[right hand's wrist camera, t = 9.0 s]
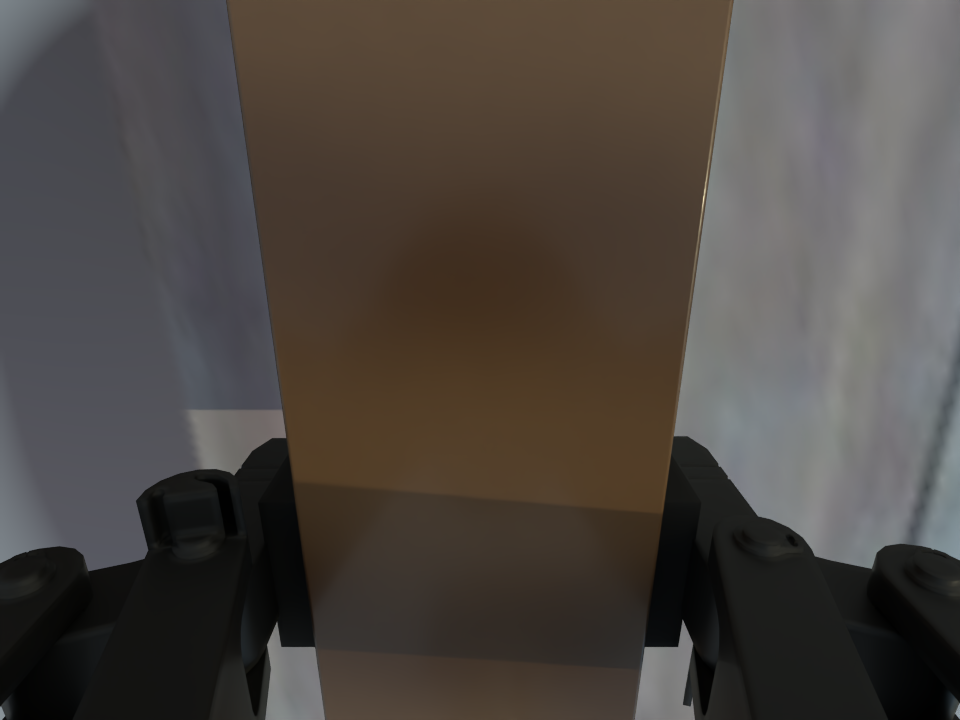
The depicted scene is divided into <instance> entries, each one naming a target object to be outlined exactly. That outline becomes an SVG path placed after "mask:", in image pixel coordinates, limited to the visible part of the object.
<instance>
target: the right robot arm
mask: <svg viewBox="0 0 960 720" xmlns="http://www.w3.org/2000/svg"><path fill="white" fill-rule="evenodd" d="M136 503H137V507H138V511H139V514H140V519H141V523H142V527H143V530H144V534H145V538H146V542H147V546H148V552H147V555H146V557H145V559H143V560H139V561H136V562H131V563H127V564H122V565H117V566H113V567H107V568H103V569H98V570H93V571H88V569H87V566H86V563H85V559H84V556H83V555H82V554H81V553H80V552H78V551H77V550H76V549H74V548H67V547H60V546H59V547H50V548H42V549H36V550H32V551H29V552H27V553H26V552H25V553H22V554H19V555H16V556H14V557H12V558H11V559H8V560H6V561H4V562H2V563H0V706H1V707H2V709H3V711H4V714H5V717H4V718H3V720H265V716H266V707H267V698H268V689H269V680H270V671H271V667H270V660H269V654H268V648H267V643H268V641H269V639H270V636H271V634H272V632H273V629H274V627H275V625H276V622H278V629H279V635H280V641H281V647H315V642H314V635H313V627H312V620H311V613H310V605H309V598H308V591H307V584H306V576H305V569H304V562H303V555H302V547H301V540H300V533H299V526H298V518H297V511H296V504H295V497H294V489H293V482H292V475H291V468H290V460H289V453H288V446H287V439H286V438H272V439H270V440H269V441H267V442H266V443H264V444H263V445H261V446H259V447H258V448H256V449H255V450H253V451H252V452H251V454H250V455H249V456H248V458H247V459H246V460H245V462H244V463H243V464H242V468H241V469H239V470H238V471H237V473H236V474H235V475H232V474H231V473H230V472H226V471H222V470H217V469H205V470H194V471H190V472H185V473H180V474H177V475H174V476H172V477H169V478H167V479H164V480H161V481H160V482H158V483H156V484H155V485H153V486H151V487H150V488H148V489H147V490H145V491H144V492H143V494H142V495H141V496H140V497H139V498H138V499H137V500H136ZM682 620H683V621H684V623H685V625H686V628H687V630H688V632H689V635H690V637H691V639H692V642H693V648H692V654H691V660H690V665H689V671H688V677H687V682H686V688H685V694H684V701H683V705H687V706H691V701H692V697H693V706H694V715H695V720H960V719H959V718H958V717H957V716H956V714H955V712H956V710H957V708H958V705H959V703H960V560H958V559H955V558H953V557H951V556H949V555H948V554H946V553H944V552H941V551H938V550H935V549H934V550H932V549H931V548H927V547H923V546H915V545H907V544H896V545H889V546H885V547H884V548H882V549H881V550H880V551H879V552H877V554H876V558H875V561H874V564H873V567H872V569H869V568H864V567H860V566H855V565H850V564H845V563H840V562H835V561H830V560H826V559H823V558H819V557H815V556H814V554H813V551H812V549H811V548H810V547H809V545H808V544H807V543H806V541H805V540H804V539H803V538H802V537H801V536H800V535H798V534H797V533H796V532H794V531H793V530H791V529H790V528H789V527H786V526H784V525H782V524H780V523H777V522H775V521H773V520H771V519H766V518H762V517H758V516H757V515H756V513H755V512H754V511H753V509H752V508H751V507H750V505H749V504H748V503H747V501H746V500H745V499H744V497H743V496H742V495H741V493H740V492H739V491H738V489H737V488H736V487H735V485H734V484H733V483H732V481H731V480H730V479H728V476H727V475H726V473H725V472H724V471H723V469H722V468H721V467H719V466H718V463H717V461H716V460H715V459H714V457H713V456H712V455H711V453H710V452H709V451H708V449H706V448H705V447H703V446H702V445H700V444H699V443H697V442H695V441H694V440H692V439H691V438H689V437H688V436H674V437H673V444H672V451H671V459H670V466H669V473H668V480H667V488H666V495H665V502H664V510H663V517H662V524H661V531H660V539H659V546H658V553H657V560H656V568H655V575H654V582H653V589H652V597H651V604H650V611H649V618H648V626H647V633H646V640H645V647H678V644H679V638H680V632H681V626H682Z"/></svg>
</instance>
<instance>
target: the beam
mask: <svg viewBox="0 0 960 720" xmlns="http://www.w3.org/2000/svg"><path fill="white" fill-rule="evenodd" d="M733 1H734V0H226V3H227V10H228V17H229V25H230V32H231V39H232V46H233V54H234V61H235V68H236V76H237V83H238V90H239V97H240V105H241V112H242V119H243V126H244V134H245V141H246V148H247V155H248V163H249V170H250V177H251V184H252V192H253V199H254V206H255V213H256V221H257V228H258V235H259V242H260V250H261V257H262V264H263V272H264V279H265V286H266V293H267V301H268V308H269V315H270V322H271V330H272V337H273V344H274V351H275V359H276V366H277V373H278V380H279V388H280V395H281V402H282V409H283V417H284V424H285V431H286V439H287V446H288V453H289V460H290V468H291V475H292V482H293V489H294V497H295V504H296V511H297V518H298V526H299V533H300V540H301V547H302V555H303V562H304V569H305V576H306V584H307V591H308V598H309V605H310V613H311V620H312V627H313V635H314V642H315V649H316V656H317V664H318V671H319V678H320V685H321V693H322V700H323V707H324V714H325V720H635V713H636V706H637V698H638V691H639V684H640V677H641V669H642V662H643V655H644V648H645V640H646V633H647V626H648V618H649V611H650V604H651V597H652V589H653V582H654V575H655V568H656V560H657V553H658V546H659V539H660V531H661V524H662V517H663V510H664V502H665V495H666V488H667V480H668V473H669V466H670V459H671V451H672V444H673V437H674V430H675V422H676V415H677V408H678V401H679V393H680V386H681V379H682V372H683V364H684V357H685V350H686V342H687V335H688V328H689V321H690V313H691V306H692V299H693V292H694V284H695V277H696V270H697V263H698V255H699V248H700V241H701V234H702V226H703V219H704V212H705V204H706V197H707V190H708V183H709V175H710V168H711V161H712V154H713V146H714V139H715V132H716V125H717V117H718V110H719V103H720V95H721V88H722V81H723V74H724V66H725V59H726V52H727V45H728V37H729V30H730V23H731V16H732V8H733Z"/></svg>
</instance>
